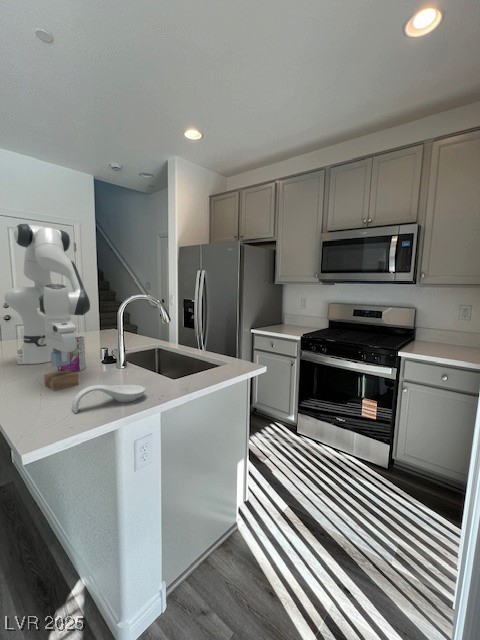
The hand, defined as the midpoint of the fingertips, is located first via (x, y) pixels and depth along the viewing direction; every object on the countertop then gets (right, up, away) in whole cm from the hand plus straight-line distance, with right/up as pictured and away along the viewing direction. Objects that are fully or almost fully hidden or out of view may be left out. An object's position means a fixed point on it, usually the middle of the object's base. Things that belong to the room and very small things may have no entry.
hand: (60, 359), depth 118 cm
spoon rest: (+27, -13, -16) cm, 34 cm away
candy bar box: (-8, -8, +23) cm, 26 cm away
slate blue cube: (0, -2, 0) cm, 2 cm away
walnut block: (0, -11, +1) cm, 11 cm away
